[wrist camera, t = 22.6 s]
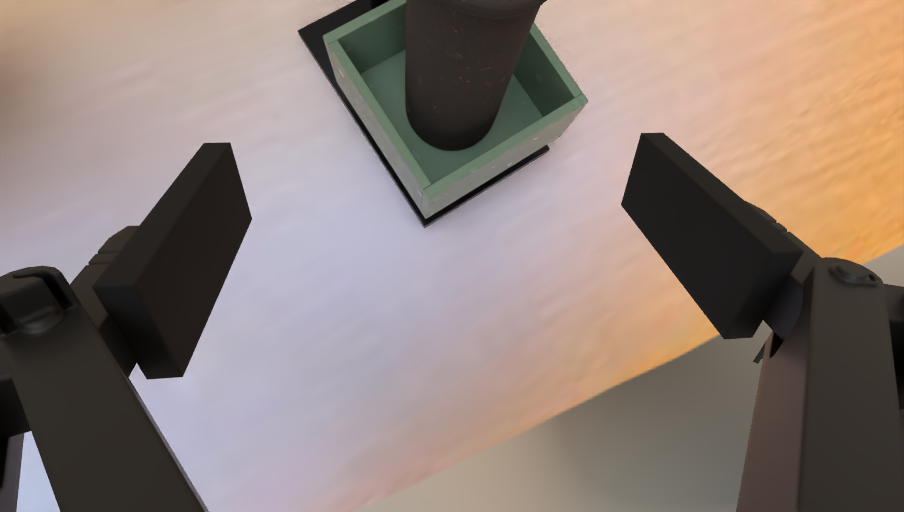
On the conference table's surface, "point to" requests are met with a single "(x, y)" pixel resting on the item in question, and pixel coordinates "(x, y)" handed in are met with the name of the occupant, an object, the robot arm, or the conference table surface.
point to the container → (461, 65)
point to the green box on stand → (385, 120)
